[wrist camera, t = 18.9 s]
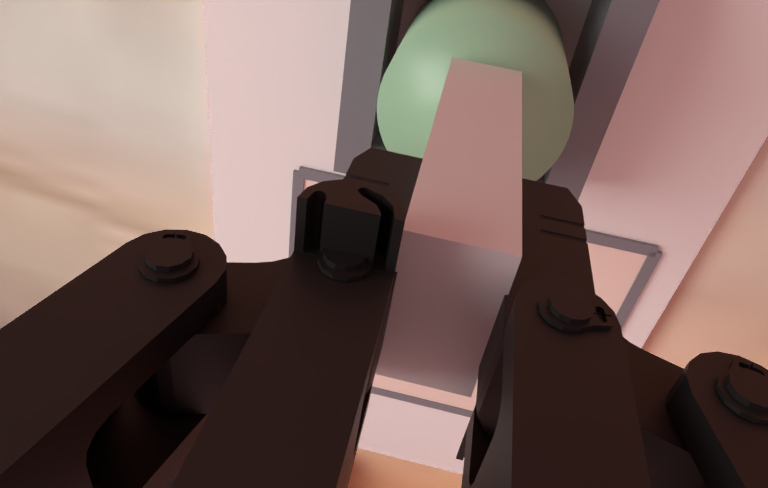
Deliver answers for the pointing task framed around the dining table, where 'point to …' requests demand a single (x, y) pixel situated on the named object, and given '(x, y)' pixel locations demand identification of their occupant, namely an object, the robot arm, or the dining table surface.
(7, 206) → the dining table surface
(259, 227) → the board
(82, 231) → the dining table surface
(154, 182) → the dining table surface
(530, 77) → the button cap
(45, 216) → the dining table surface
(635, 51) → the button housing
